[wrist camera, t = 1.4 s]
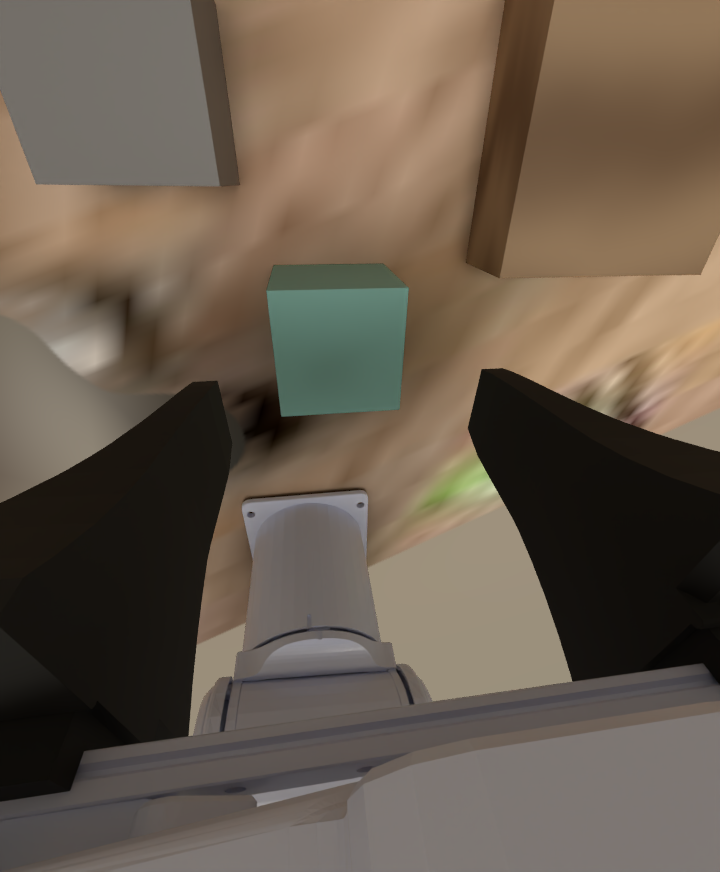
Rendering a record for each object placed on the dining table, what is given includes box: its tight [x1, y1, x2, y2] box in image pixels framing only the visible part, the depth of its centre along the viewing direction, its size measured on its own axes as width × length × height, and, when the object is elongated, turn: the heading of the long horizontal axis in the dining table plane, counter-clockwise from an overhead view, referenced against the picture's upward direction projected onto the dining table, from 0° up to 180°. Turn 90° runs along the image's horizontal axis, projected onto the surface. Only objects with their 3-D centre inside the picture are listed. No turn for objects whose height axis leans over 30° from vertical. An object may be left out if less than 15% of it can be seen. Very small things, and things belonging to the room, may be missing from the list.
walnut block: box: [466, 0, 720, 278], centre depth 15 cm, size 9×9×4 cm
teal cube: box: [266, 264, 409, 417], centre depth 17 cm, size 5×5×5 cm
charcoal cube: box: [0, 0, 240, 186], centre depth 12 cm, size 5×5×5 cm
